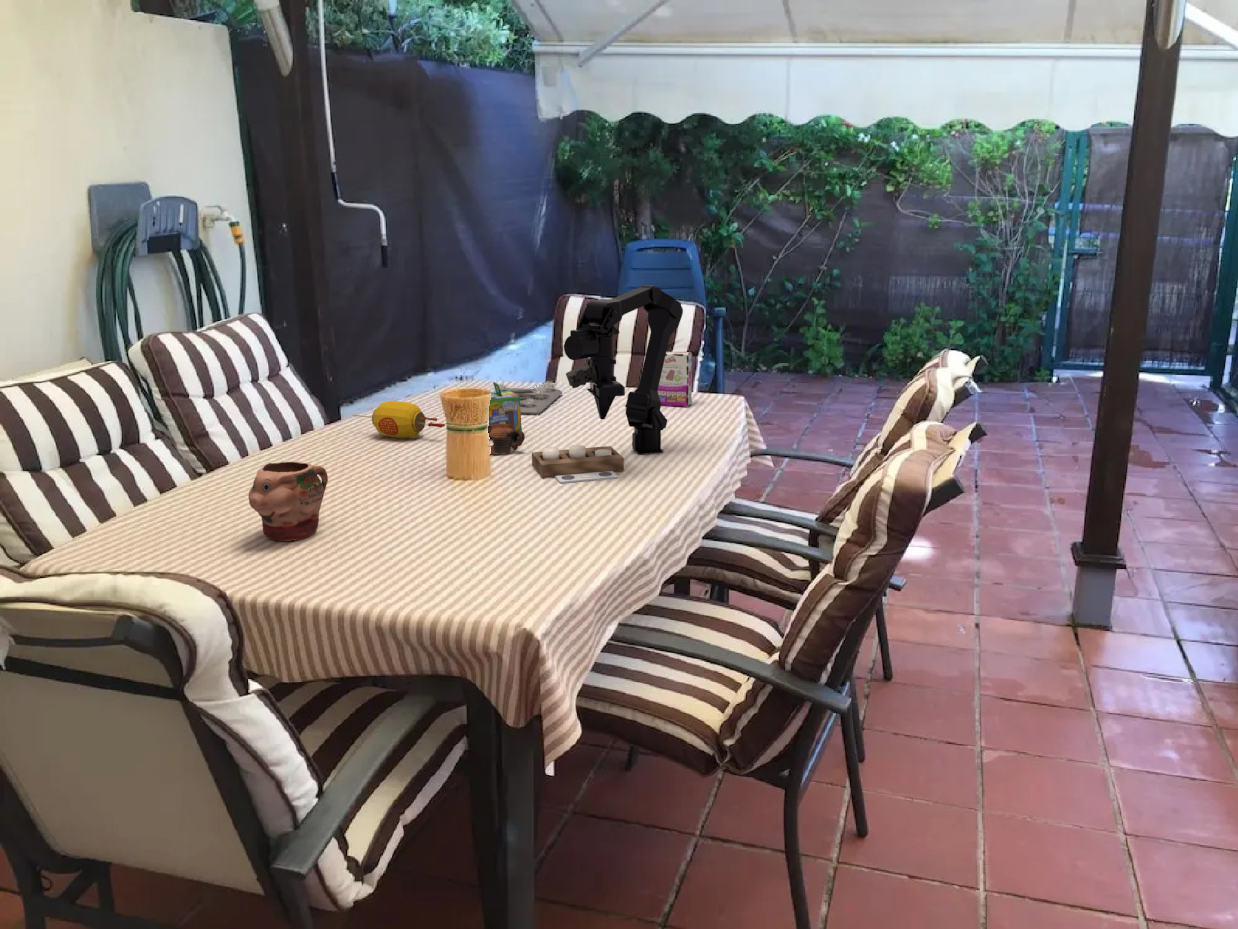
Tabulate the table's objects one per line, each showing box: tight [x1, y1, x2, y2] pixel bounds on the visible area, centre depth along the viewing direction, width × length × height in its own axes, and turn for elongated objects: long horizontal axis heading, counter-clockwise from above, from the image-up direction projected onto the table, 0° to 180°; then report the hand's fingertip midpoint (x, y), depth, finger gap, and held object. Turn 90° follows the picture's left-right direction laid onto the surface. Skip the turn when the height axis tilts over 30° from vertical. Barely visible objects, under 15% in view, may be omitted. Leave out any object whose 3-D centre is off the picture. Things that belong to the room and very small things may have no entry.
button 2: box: [595, 449, 611, 456], centre depth 249 cm, size 4×4×3 cm
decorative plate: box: [497, 380, 563, 416], centre depth 318 cm, size 30×22×7 cm
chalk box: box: [489, 381, 523, 442], centre depth 277 cm, size 9×9×15 cm
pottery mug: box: [488, 424, 526, 456], centre depth 263 cm, size 12×10×8 cm
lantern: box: [352, 400, 446, 440], centre depth 277 cm, size 10×10×30 cm
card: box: [554, 471, 619, 484], centre depth 239 cm, size 14×5×1 cm, turn 106°
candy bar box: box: [658, 351, 693, 408], centre depth 313 cm, size 11×5×16 cm, turn 73°
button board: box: [531, 445, 625, 479], centre depth 247 cm, size 20×12×3 cm, turn 106°
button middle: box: [568, 444, 586, 459], centre depth 246 cm, size 4×4×3 cm
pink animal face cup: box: [248, 461, 329, 542], centre depth 202 cm, size 20×12×14 cm, turn 159°
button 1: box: [541, 446, 560, 461], centre depth 245 cm, size 4×4×3 cm
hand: (602, 418), depth 246 cm, fingers closed
